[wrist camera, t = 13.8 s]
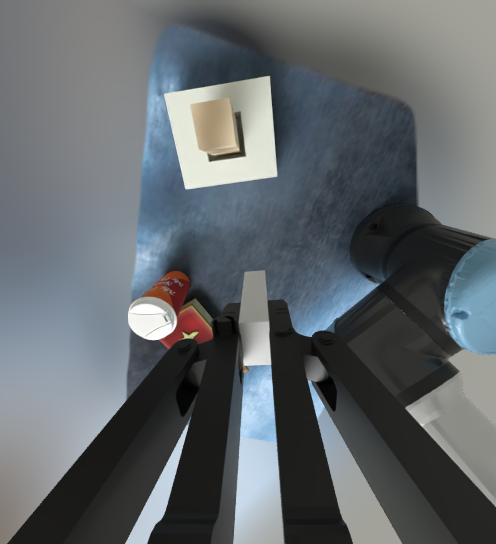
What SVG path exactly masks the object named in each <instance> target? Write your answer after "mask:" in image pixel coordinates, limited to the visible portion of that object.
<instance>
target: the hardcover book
mask: <svg viewBox="0 0 496 544" xmlns="http://www.w3.org/2000/svg"><path fill="white" fill-rule="evenodd" d="M212 320H213V318H212V317H211V316H210V315H209V314H208V313H207V311H206V310H205V309H204V308H203V307H202V305H201V304H200V303H199V302H198V301H197V300H196V298H195V299H193V300H192V301H190V302H188V303H187V304H185V305H183V306H182V308H181V310H180V313H179V315H178V317H177V325H176V327H175V329H174V330H173V331H172V332H171V333H170V334H169V335H167V336H165V337H164V338H161V339H159V340H160V341H161V342H162V343H163V344H164V345H165V346H166V347H167V348H168V349H170V348H171V346H172V345H173V344H175V343H176V342H177V341H179V340H182V339H185V338H192V339H195V340H196V341H197V343H198V344H200V343H203V342H206V341H209V340H211V339H212V338H213V332H212V327H211V321H212ZM243 371H244V372H247V371H249V369H248V368H247V367H246V366H244V362H243Z"/></svg>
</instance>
